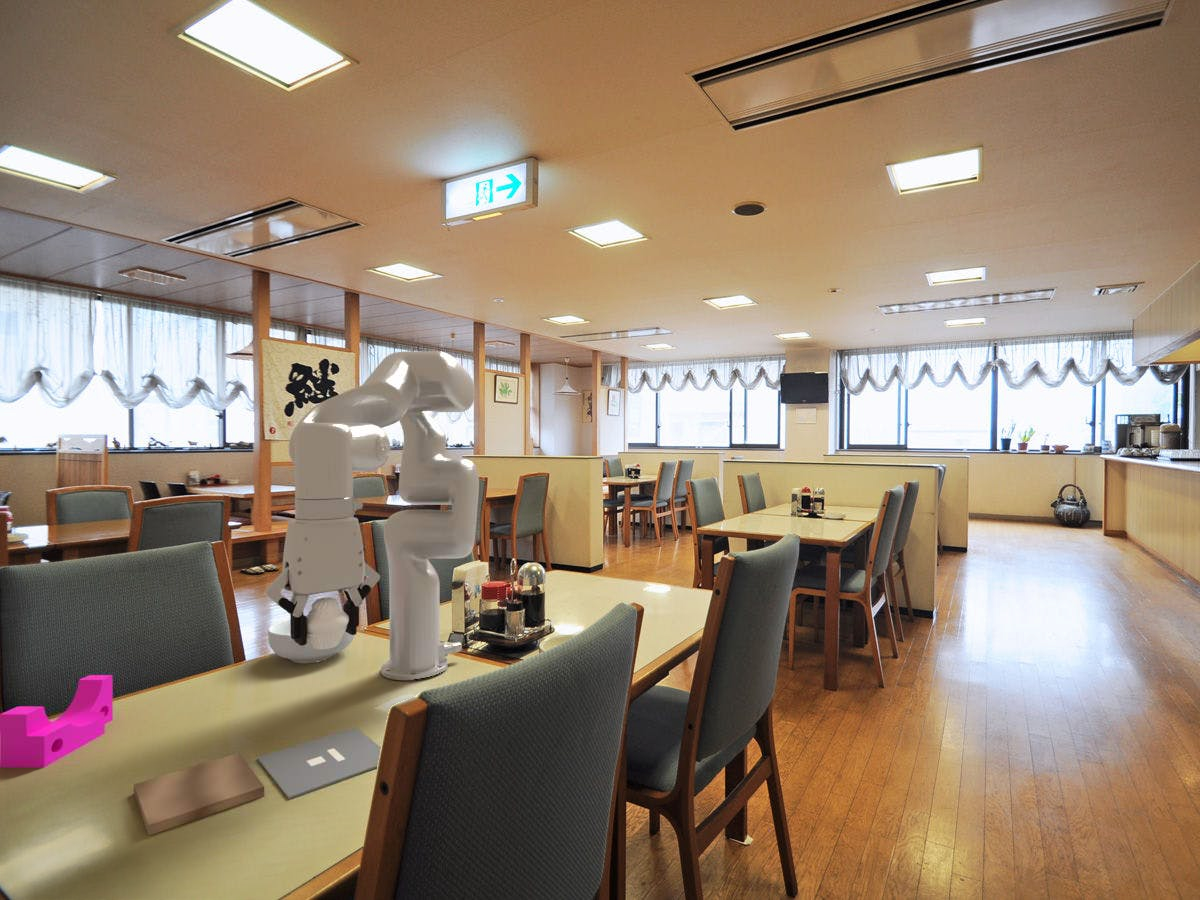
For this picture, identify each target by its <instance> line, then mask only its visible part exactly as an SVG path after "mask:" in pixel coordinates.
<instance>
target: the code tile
mask: <svg viewBox="0 0 1200 900" xmlns="http://www.w3.org/2000/svg"><path fill="white" fill-rule="evenodd" d="M381 748H382V747H381V746H379V744H377V743H376V742H374V740H372V739H371V738H370V737H369V736H367V735H366V734H365V733H364V732H363V731H361V730H360V729H359V728H357V727H350V728H348V729H344V730H342V731H338V732H335V733H332V734H328V735H324V736H322V737H319V738H315V739H312V740H308V741H306V742H302V743H299V744H296V745H292V746H289V747H286V748H282V749H280V750H276V751H272V752H269V753H266V754H263V755H260V756H256V759H257V762H259V764H260V765H261V767H263V768H264V770H265V771H266V772H267V774H268V776H270V777H271V779H272V780H273V781H274V783H275V784H276V785H277V786H278V788H279V789H280V790H281V792H282V793H283V794H284V796H286V798H287V799H288V800H291V799H294V798H298V797H299V796H302V795H305V794H308V793H311V792H314V791H317V790H319V789H322V788H325V787H328V786H330V785H333V784H336V783H338V782H342V781H344V780H347V779H349V778H352V777H355V776H358V775H361V774H363V773H367V772H369V771H373V770H375V769H378V768H377V765H378V760H379V755H380V749H381Z"/></svg>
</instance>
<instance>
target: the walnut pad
mask: <svg viewBox="0 0 1200 900" xmlns="http://www.w3.org/2000/svg"><path fill="white" fill-rule="evenodd" d="M133 795H134V799H135V801H136V803H137V806H138V807H137V808H138V809H139V812H140V815H141V818H142V821H143V824H144V827H145V829H146V832H147V835H148V836H152V835H155V834H158V833H162V832H163V831H166V830H169V829H172V828H176V827H178V826H181V825H184V824H187V823H191V822H193V821H195V820H198V819H199V820H200V819H202V818H205V817H207V816H210V815H213V814H216V813H219V812H222V811H224V810H228V809H230V808H234V807H236V806H239V805H242V804H245V803H247V802H250V801H254V800H256V799H259V798H262V797H265V785H264V784H263V783H262V782H261V780H260V779H259V778H258V776H257V775H256V773H255V772H254V771H253V769H252V767H250V765H249V764H248V763H247V761H246V760H245V759H244V757H243V756H242V754H241V753H240V752H238V753H234V754H231V755H228V756H227V755H226V756H225V757H222V758H217V759H214V760H211V761H207V762H204V763H201V764H197V765H193V766H190V767H188V768H187V767H186V768H184V769H180V770H177V771H174V772H170V773H167V774H164V775H161V776H156V777H153V778H150V779H147V780H143V781H140V782H136V783H134V784H133Z"/></svg>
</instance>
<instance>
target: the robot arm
mask: <svg viewBox="0 0 1200 900" xmlns="http://www.w3.org/2000/svg"><path fill="white" fill-rule="evenodd" d="M475 388H476V387H475V383H474V380H473V377H472V376H471V374H470V373H469V371H468V370H467V369H466V368H465V367H464V366H463V365H462V364H461V362H459V361H458V359H456V358H455V357H454V356H453V355H451V354H449V353H447V352H444V351H438V350H436V351H435V350H433V351H432V350H429V351H426V350H424V351H422V350H421V351H420V350H419V351H418V350H416V351H415V350H414V351H397V352H392V353H390V354H388V355H386V356H385V357H384V358H383V359H382V360H381V362H380V363H378V366H377V367H375V368H374V370H373V372H372V373H371V374H370V375H369V376H368V377H367V378H366V380H365V381H364V382H363V383H362V385H360V386H356V387H354V388H352V389H349V390H346V391H344V392H341V393H339V394H338V395H335V396H332V397H330V398H327V399H326V400H323V401H322V402H319V403H318V404H317V405H314V407H312V408H311V409H310V410H308V412H306V414H305V415H304V416H303V417H302V418H301V420H299V422H298V423H297V425H296V426H295V427H294V429H293V431H292V433H291V434H290V438H289V441H288V442H289V443H288V454H289V458H290V460H291V463H292V464H293V465H294V511H295V512H294V515H295V516H294V518H295V519H294V520H291V521H289V522H288V525H287V529H286V532H285V540H284V547H283V548H284V549H283V558H282V569H281V570H282V571H281V572H280V573H279V574H278V575H277V576H276V578H275V579H273V581H272V582H271V583H270V584H269V585H267V587H266V588H265V589H264V591H263V594H264V596H266V597H267V598H268V599H269V600H271V601H272V602H274V603H275V604H277V606H279V607H280V608H282V609H283V610H284V611H286V612H287V613H288V614H289V615H290V619H289V620H290V627H291V638H292V639H294V641H295V642H296V643H298V644H299V645H300V646H303V645H306V644H307V617H306V615H304V614H305V613H304V610H305V608H306V605H307V603H308V600H309V598H310V596H312V595H319V594H325V593H331V592H337V591H339V592H340V591H342V593H343V594H344V597H345V600H346V603H343V606H342V611H344V612H345V613H346V614H347V615H348V616H349V622H348V624H347V628H346V630H345V632H347V633H349V634H350V635H354V636H355V635H357V633H358V632H357V628H358V627H359V626H360V606H362V604H363V601H364V600H365V599H366V597H367V596H368V595H369V593H370V592H371V591H372V588H374V587H375V586H376V584H377V583H379V581H380V580H381V575H380V573H378V572H377V571H376V570H375V569H373V568H372V567H371V566H370V565H369V564H368V563H366V561H365V552H364V544H363V537H362V532H361V527H360V526H361V525H360V522H359V519H358V517H354V515H355V514H356V511H357V510H362V509H363V506H364V503H363V501H362V499H355V498H356V497H355V496H354V473H369V472H373V471H376V470H379V469H380V468H382V467H383V466H385V464H386V462H387V460H388V459H389V457H390V453H391V442H390V439H389V436H388V435H387V433H386V431H385V430H383V428H385V427H388V426H391V425H394V424H396V423H398V422H399V423H400V426H401V429H402V433H403V445H402V452H401V453H402V454H401V459H400V460H401V461H400V470H399V479H398V493H399V496H400V498H401V500H402V501H403V502H405V503H408V504H411V505H421V506H422V505H429V506H433V505H434V506H435V505H436V506H438V505H439V506H441V505H444V506H447V505H448V506H449V505H450V506H451V507H452V508H451V509H405V510H400V511H396V512H394V513H393V514H391V515H390V516H389V517H388V518H387V520H385V524H384V526H383V540H384V545H385V551H386V555H387V556H386V558H387V561H388V562H387V563H388V573H389V574H388V578H389V579H388V582H389V590H388V591H389V605H388V606H389V608H388V609H389V660H386V662H384V663H383V664H382V665H381V675H382V676H383V677H385V678H387V679H389V680H393V681H394V680H395V681H415V680H414V679H419V680H421V679H420V678H424V677H428V676H432V675H436V674H438V675H440V674H442V673H444V672H445V671H446V670H447V669H448V665H449V664H448V663H449V661H448V659H447V656H449V654H454V653H458V652H461V651H462V650H463V645H462V643H461V642H460V641H456V642H453V643H450V642H449V641H444V642H442V641H441V639H440V637H441V636H440V631H441V630H440V628H441V627H440V625H441V624H440V622H441V621H440V619H441V618H440V617H441V615H440V608H441V607H440V579H439V575H438V573H437V570H436V569H435V567H434V566H433V565H432V563H431V562H430V560H431V559H448V560H450V559H455V560H457V559H464V558H467V557H468V556H469V555H471V553H472V551H473V549H474V545H475V541H476V531H477V522H478V521H477V519H478V518H477V517H478V507H479V493H480V492H479V491H480V475H479V472H478V468H477V466H476V465H475V463H474V462H473V461H472V460H470V459H467V458H463V457H446V447H447V437H446V433H445V432H444V430H443V429H442V427H441V426H440V424H439V423H438V422H437V420H435V419H434V418H433V417H432V415H431V414H430V413H462V412H466V411H468V410H469V409H470V408H471V407H472V406H473V404H474V401H475V397H476V391H475V390H476V389H475ZM283 589H284V590H286V591H288V592H291V593H292V595H291V597H290V600H289V599H288V598H287V597H285V595H283V594H282V590H283ZM443 671H444V672H443ZM441 672H442V673H441ZM439 673H440V674H439ZM436 676H437V675H436ZM432 677H433V676H432Z"/></svg>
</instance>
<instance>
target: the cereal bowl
mask: <svg viewBox="0 0 1200 900" xmlns="http://www.w3.org/2000/svg"><path fill="white" fill-rule="evenodd" d="M354 638H355V635H350V634H349V633H347V632H344V634H343V636H342V638H341V640H340V642H339V644H338V645H337V646H336V647H333V648H330V649H321V650H320V649H314V648H313V646H312V645H311V643H310V641H309V640H308V638H307V644H306V645H303V646H300V645H299V644H298V643H296V642H295V641H294V639H292V638H291V627H290V619H288V620H284V621H281V622H280V621H279V622H277V623H275V624H272V625H271V626H269V628H268V630H267V639H268V644H269V647H270V649H271V650H272V652H273V653H275V654H276V655H277V656H279V657H281V658H284V659H288V660H291V661H292V662H293V661H294V662H293V663H296V664H312V663H311V662H315V663H318V662H317V661H320V662H322V661H321V660H324V659H327V658H329V659H331V658H332V657H333V656H334V655H335V654H338V653H339V652H341V651H344V650H345V649H346V648H347V647H349V646H350V644H351V643H352V642H353V640H354ZM331 656H332V657H331ZM330 657H331V658H330ZM327 660H328V659H327ZM324 661H325V660H324Z"/></svg>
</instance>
